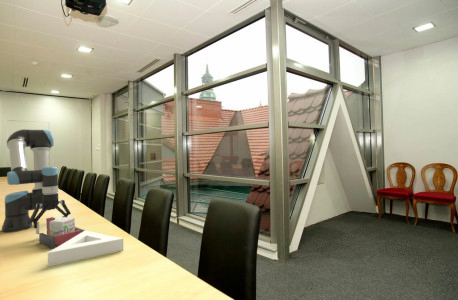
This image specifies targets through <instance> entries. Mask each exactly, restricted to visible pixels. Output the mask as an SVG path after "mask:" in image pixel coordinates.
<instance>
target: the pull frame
mask: <svg viewBox="0 0 458 300" xmlns="http://www.w3.org/2000/svg"><path fill="white" fill-rule="evenodd" d="M45 219H46V235H48V236H50V223H49V222H50V221H53V220H56V218H55V217H53V216H52V217H47V218H45ZM80 233H81V230H77V231H73V232H69V233H65V234H61V235H57V236H54V238H55V248H57V247H58V246H60V245H62V244H63V243H65V242H67V241H68V240H70V239H72V238H73V237H75V236H77V235H78V234H80Z"/></svg>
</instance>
